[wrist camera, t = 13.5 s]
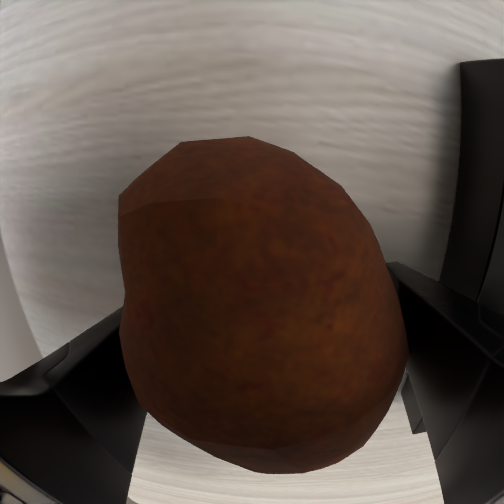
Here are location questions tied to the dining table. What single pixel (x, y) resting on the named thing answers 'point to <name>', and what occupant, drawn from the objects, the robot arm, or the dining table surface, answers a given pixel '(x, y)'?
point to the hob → (475, 201)
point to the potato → (256, 307)
